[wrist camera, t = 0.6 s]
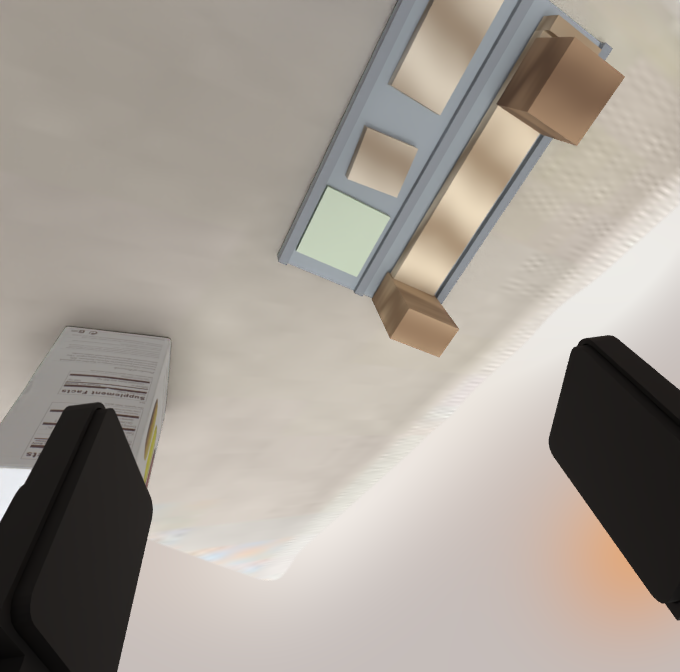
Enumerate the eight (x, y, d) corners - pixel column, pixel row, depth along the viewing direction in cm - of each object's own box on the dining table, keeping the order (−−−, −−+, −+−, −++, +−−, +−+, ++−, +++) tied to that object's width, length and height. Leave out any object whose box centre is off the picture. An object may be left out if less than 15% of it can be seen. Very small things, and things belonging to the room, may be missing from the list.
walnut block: (541, 134, 37) (576, 145, 33) (496, 104, 35) (527, 111, 31) (582, 73, 35) (624, 76, 31) (536, 37, 34) (574, 36, 29)
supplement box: (166, 413, 49) (132, 565, 34) (68, 406, 46) (-13, 566, 32) (172, 335, 44) (135, 473, 30) (63, 322, 42) (-34, 466, 27)
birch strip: (415, 317, 46) (439, 357, 40) (371, 299, 44) (390, 338, 38) (588, 51, 36) (654, 52, 30) (540, 13, 34) (601, 7, 28)
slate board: (424, 316, 47) (428, 323, 46) (277, 255, 41) (278, 261, 40) (601, 48, 37) (612, 48, 36) (437, -85, 31) (445, -90, 30)
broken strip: (390, 198, 40) (394, 202, 39) (340, 173, 38) (343, 176, 37) (506, -12, 33) (514, -13, 32) (453, -54, 31) (459, -58, 30)
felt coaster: (355, 274, 43) (356, 277, 42) (295, 248, 41) (296, 251, 40) (388, 215, 40) (390, 217, 40) (326, 184, 38) (327, 186, 38)
